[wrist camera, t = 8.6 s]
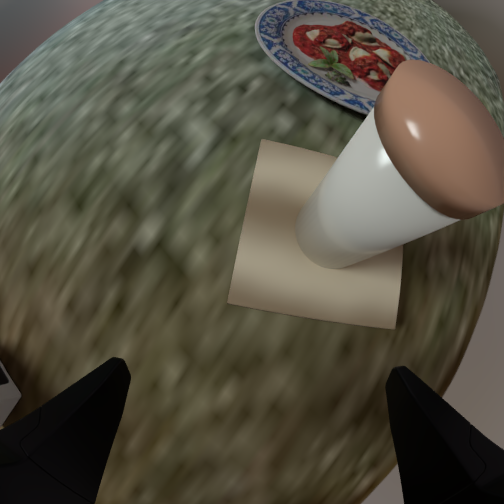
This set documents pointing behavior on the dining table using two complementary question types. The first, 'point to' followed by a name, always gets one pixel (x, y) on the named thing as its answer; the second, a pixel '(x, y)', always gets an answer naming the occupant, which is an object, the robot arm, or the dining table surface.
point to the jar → (405, 170)
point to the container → (7, 394)
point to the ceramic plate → (334, 49)
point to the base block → (295, 261)
